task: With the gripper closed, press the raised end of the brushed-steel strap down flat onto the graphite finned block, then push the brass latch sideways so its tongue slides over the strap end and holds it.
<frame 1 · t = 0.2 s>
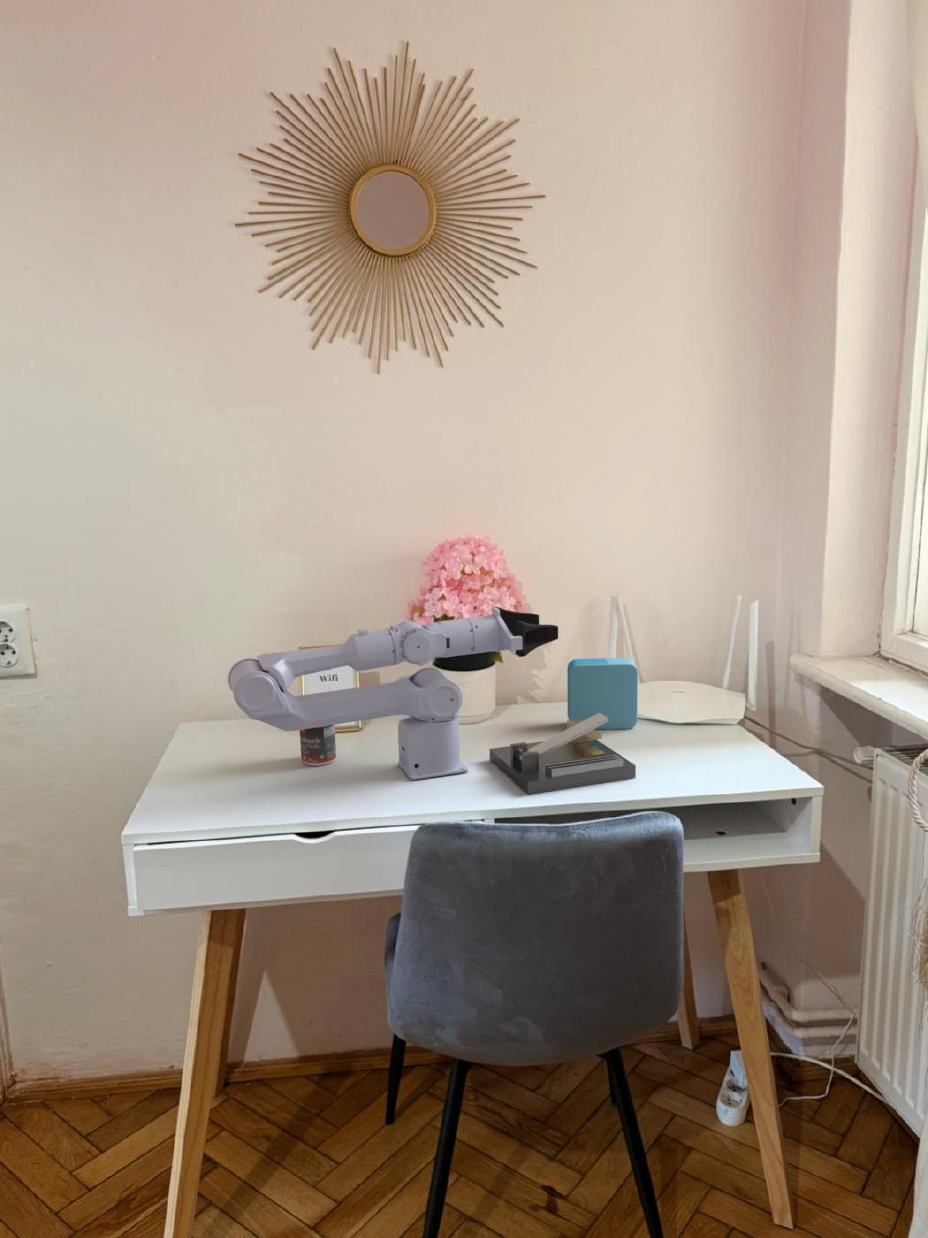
hand: (547, 626, 162), 22 cm above the table, tool horizontal, fingers open, 7 cm apart
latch: (584, 735, 164), point 4 cm above the table, slide at 0.0 cm
pill bottle: (319, 762, 166), on the table
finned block: (565, 773, 157), on the table
strap: (562, 738, 156), point 6 cm above the table, hinge at 20.0°
data package: (602, 727, 180), on the table
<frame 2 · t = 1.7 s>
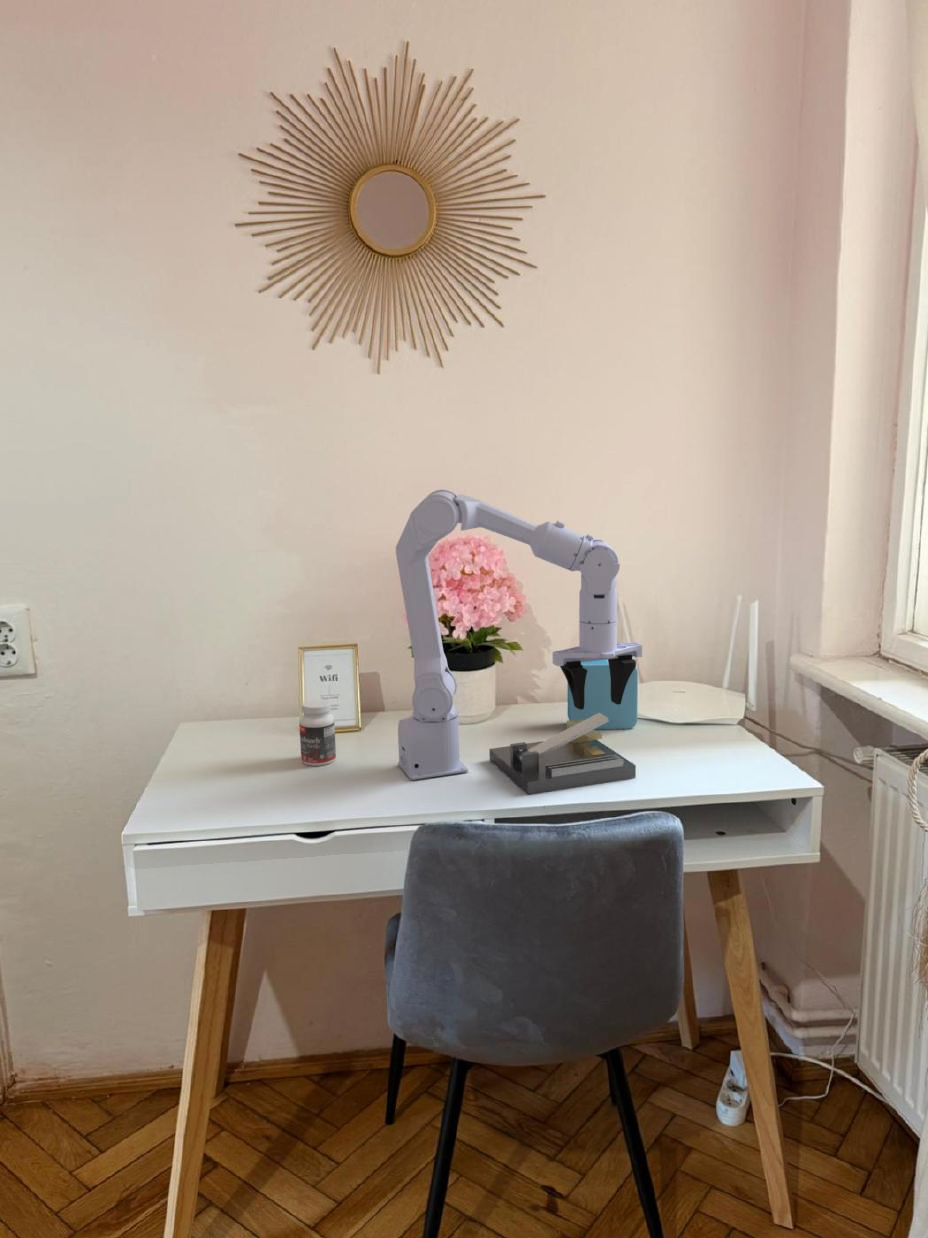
hand: (597, 705, 157), 10 cm above the table, tool pointing down, fingers open, 6 cm apart
nothing on the table moved.
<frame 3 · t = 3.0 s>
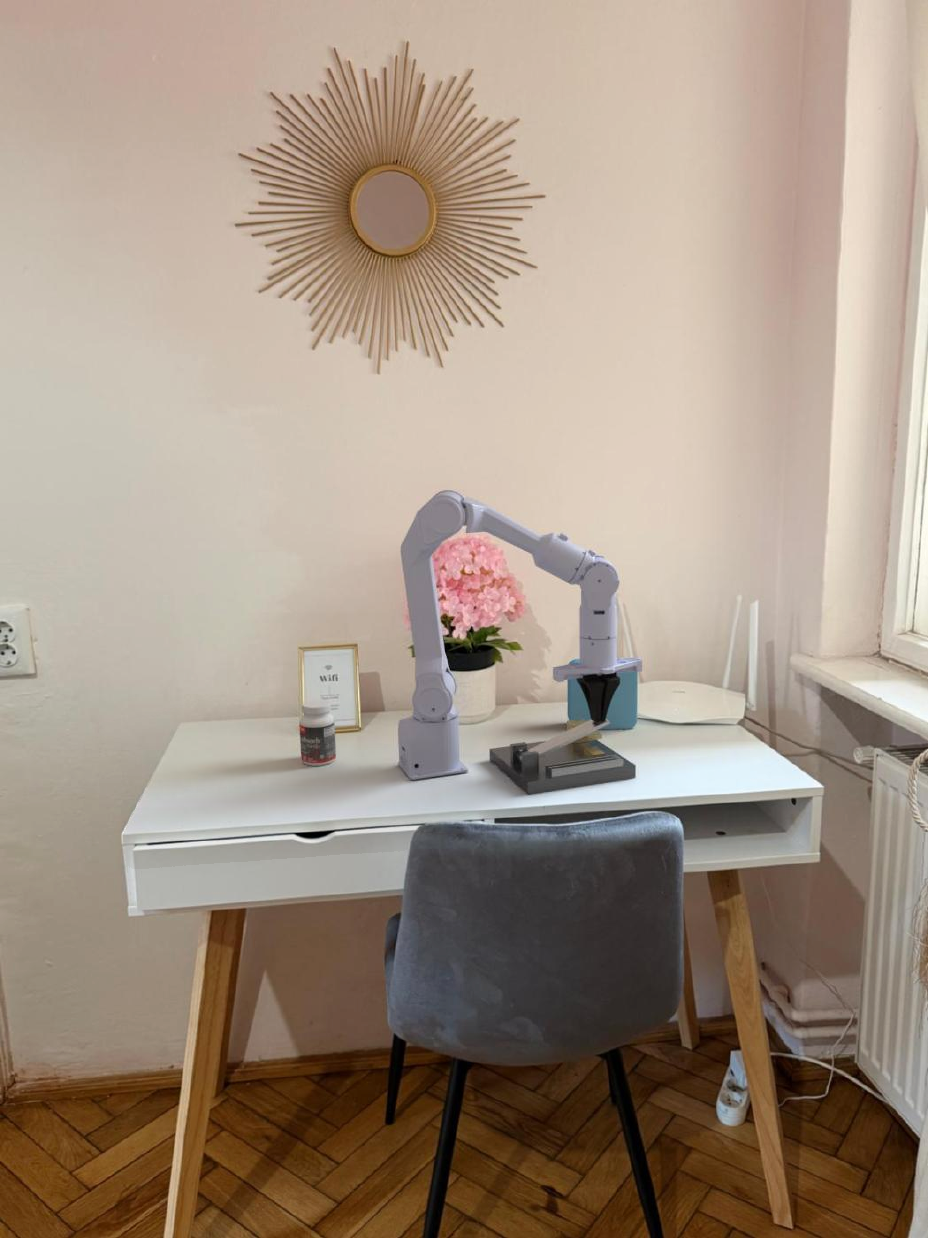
hand: (598, 720, 157), 8 cm above the table, tool pointing down, fingers closed
strap: (563, 739, 156), point 6 cm above the table, hinge at 18.1°, touching gripper
everything else where it was.
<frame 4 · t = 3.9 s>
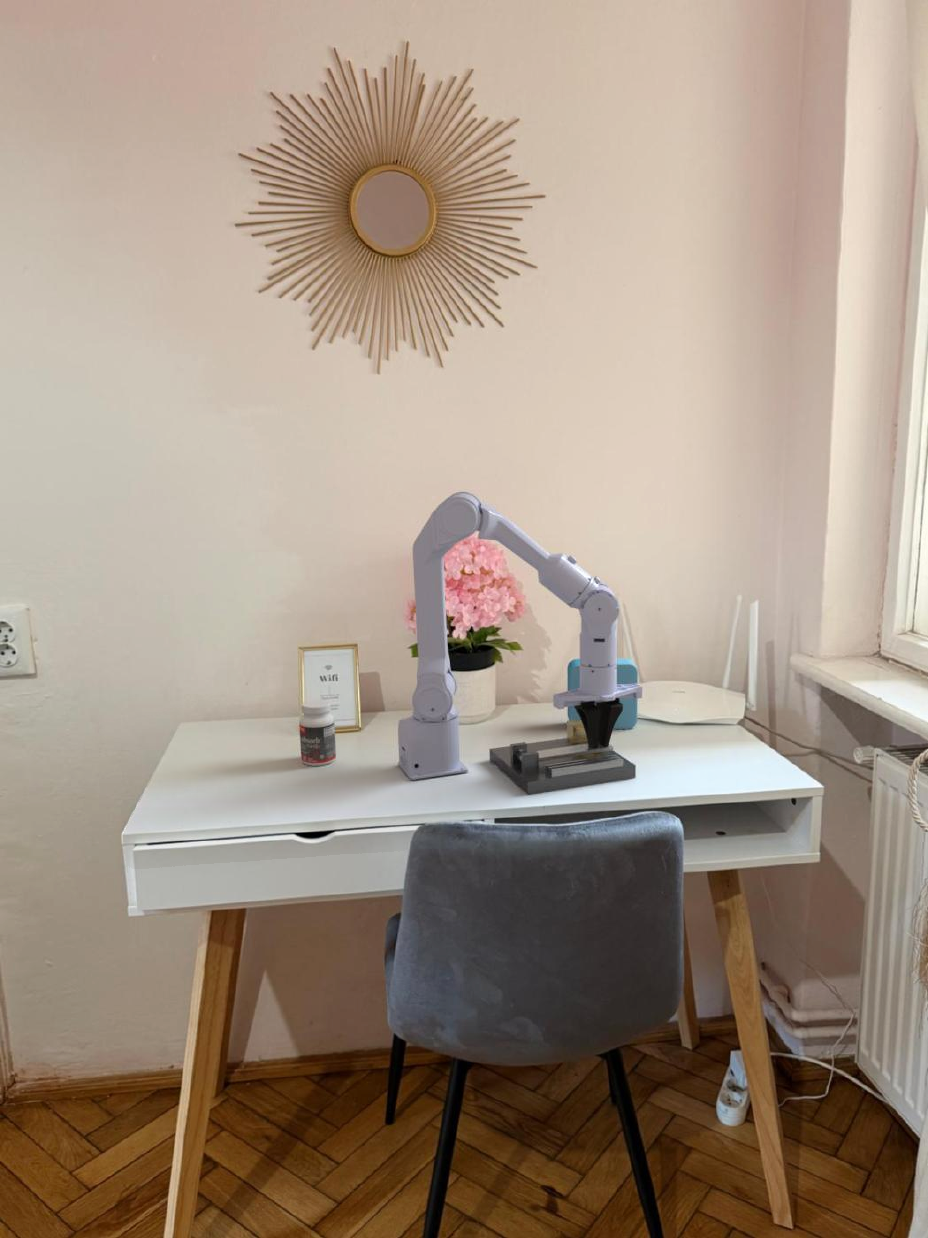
hand: (598, 746, 158), 4 cm above the table, tool pointing down, fingers closed on strap
strap: (565, 752, 157), point 3 cm above the table, hinge at 0.3°, touching gripper
everything else where it was.
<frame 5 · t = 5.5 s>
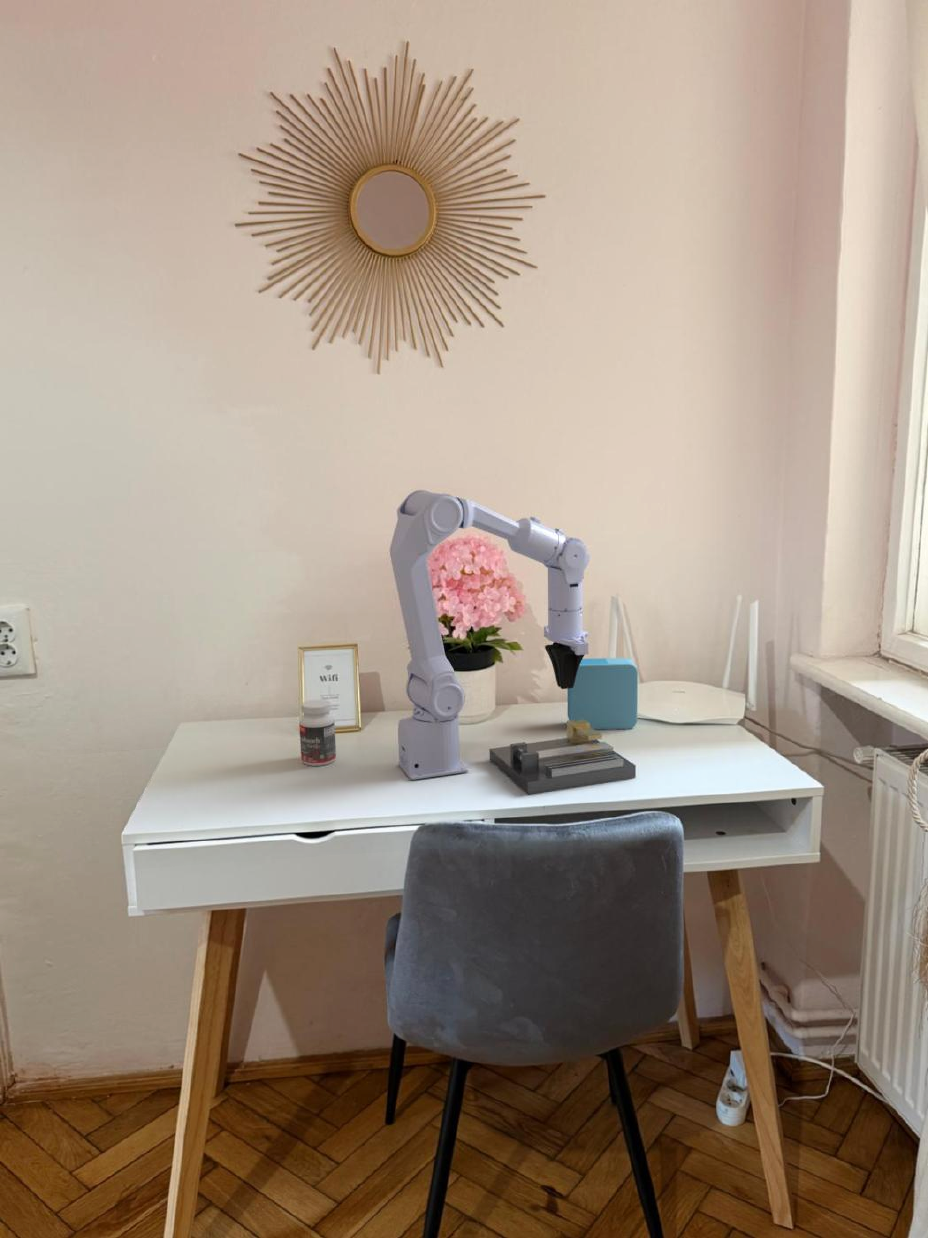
hand: (565, 687, 169), 10 cm above the table, tool pointing down, fingers closed
strap: (565, 752, 157), point 3 cm above the table, hinge at -0.1°
everything else where it was.
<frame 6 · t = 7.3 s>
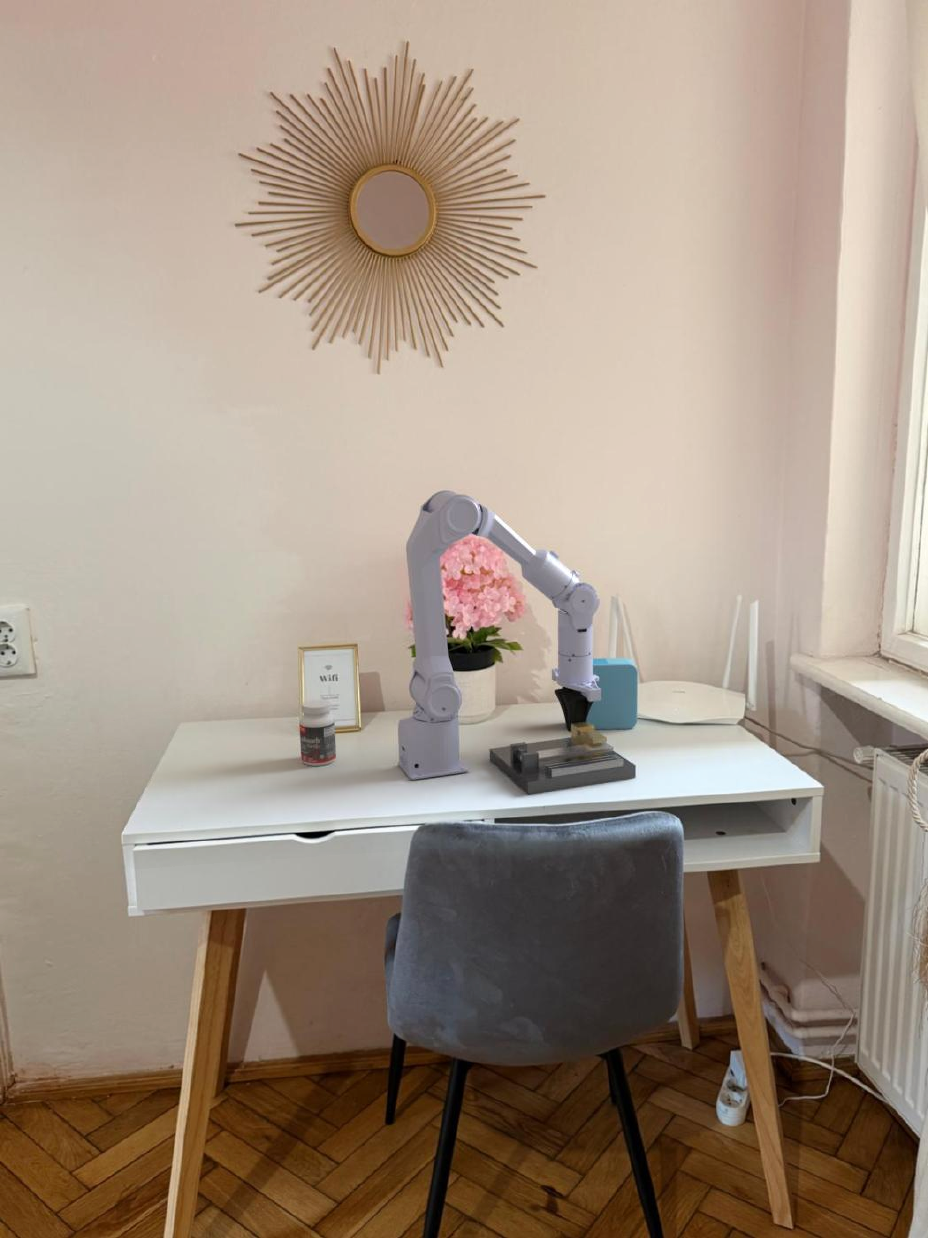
hand: (575, 731, 167), 3 cm above the table, tool pointing down, fingers closed
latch: (589, 738, 162), point 4 cm above the table, slide at 1.6 cm, touching gripper
everything else where it was.
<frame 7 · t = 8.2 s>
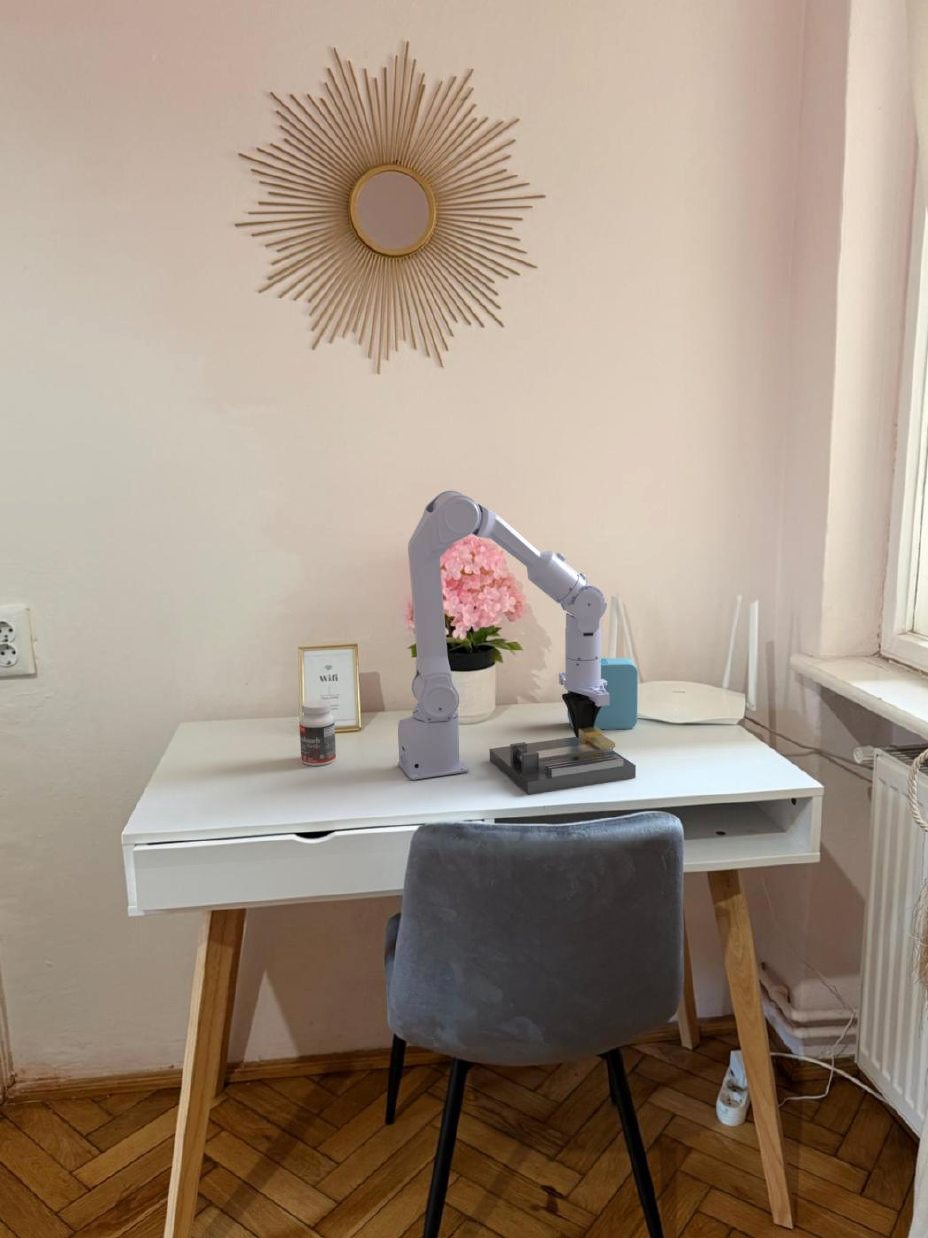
hand: (583, 736, 164), 3 cm above the table, tool pointing down, fingers closed
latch: (597, 744, 159), point 4 cm above the table, slide at 4.5 cm, touching gripper
everything else where it was.
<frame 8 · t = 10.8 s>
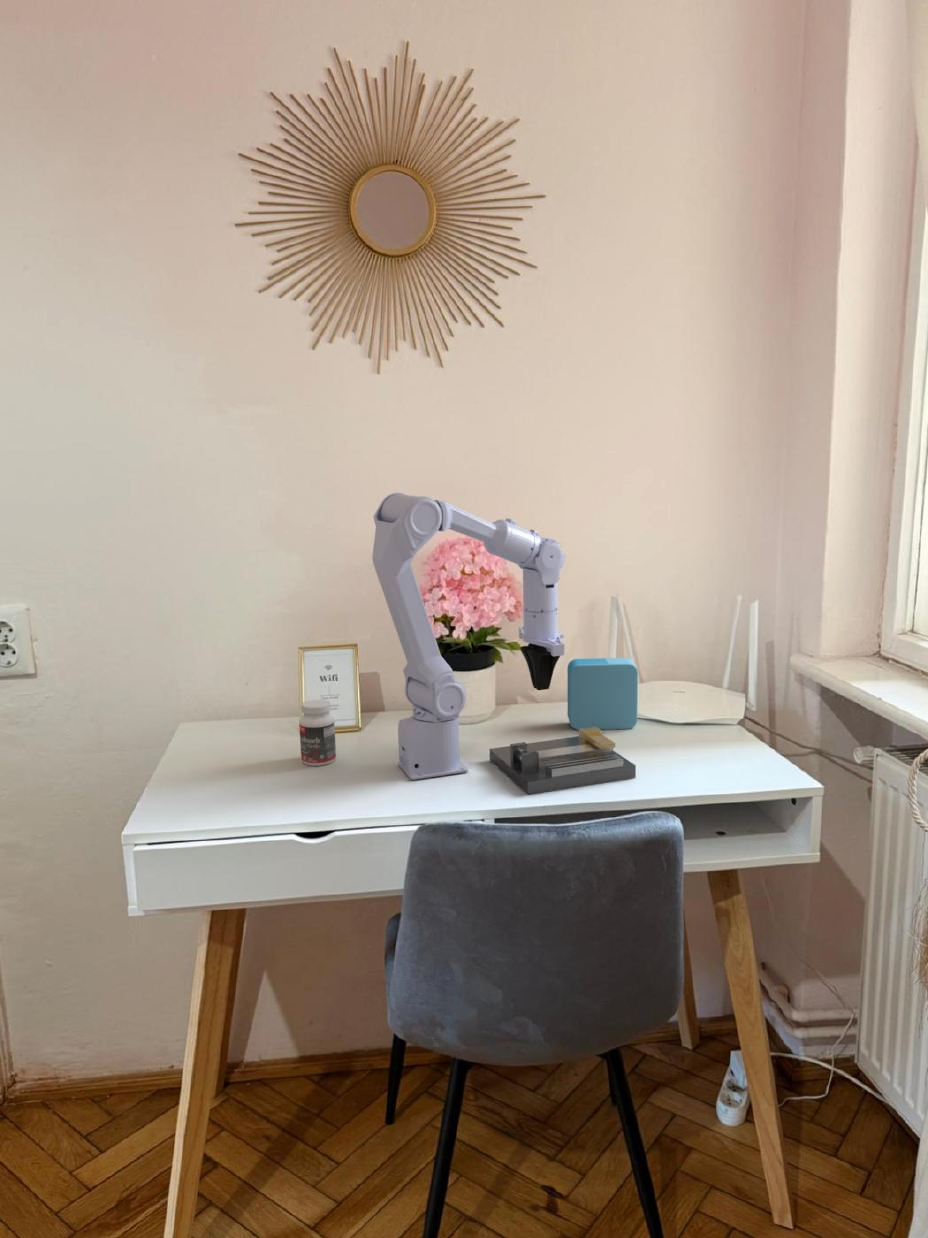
hand: (541, 688, 169), 10 cm above the table, tool pointing down, fingers closed
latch: (597, 744, 159), point 4 cm above the table, slide at 4.5 cm
everything else where it was.
at the end: strap at +0° (first picture: +20°); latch slide at 4.5 cm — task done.
